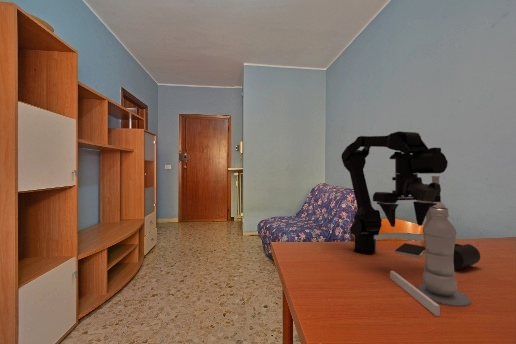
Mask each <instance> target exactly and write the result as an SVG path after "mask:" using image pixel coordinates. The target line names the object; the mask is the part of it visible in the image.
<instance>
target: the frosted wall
mask: <svg viewBox="0 0 516 344" xmlns="http://www.w3.org/2000/svg"><path fill="white" fill-rule="evenodd" d="M389 276H390V277H389V278H390V279H391V280H392V281H393V282H394V283H395V284H397V285H398V286H399V287H400V288H401V289H403V290H404V291H405V292H406V293H408V295H410V296H411V297H412V298H413V299H415V300H416V301H417V302H419V303H420V304H421V305H422V306H423V307H424V308H426V310H428V311H430V313H432V314H433V315H434V316H436V317H438V316H439V317H441V316H440V315H441V313H440V312H441V311H440V310H441V309H440V308H441V307H440V306H441V305H439V304H438V302H435V301H433V300H431V299H430V298H429V297H427V296H426V295H425V294H423V293H422V292H421V291H419V290H418V289H417V287H415V286H414V285H413V284H412V283H410V282H409V281H408V280H406V279H405V278H403V277H402V276H401V275H400V274H398V273H397V272H396V271H394V270H390V271H389Z"/></svg>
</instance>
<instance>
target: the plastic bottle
mask: <svg viewBox="0 0 516 344" xmlns="http://www.w3.org/2000/svg"><path fill="white" fill-rule="evenodd" d="M429 215H430V218H429V219H428V220H427V222H426V221H425V223H423V225H422V226H423V227H422V234H423V241H424V246H425V252H424V253H425V258H424V259H425V260H424V270H423V273H422V283H423V284H424V286H425V287H426V289H427V290H428V291H430V292H432V293H435V294H438V295H442V296H452V295H453V294H454V293H455V292H456V290H458V288H457V287H458V282H457V277H456V274H455V270H454V263H453V258H454V257H453V255H454V246H455V244H456V240H457V229H456V228H455V226H454V225H453V224H452V222H451V221H450V220H449V219H448V217H450V214H449V208H448V207H446V208H442V207H429Z"/></svg>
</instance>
